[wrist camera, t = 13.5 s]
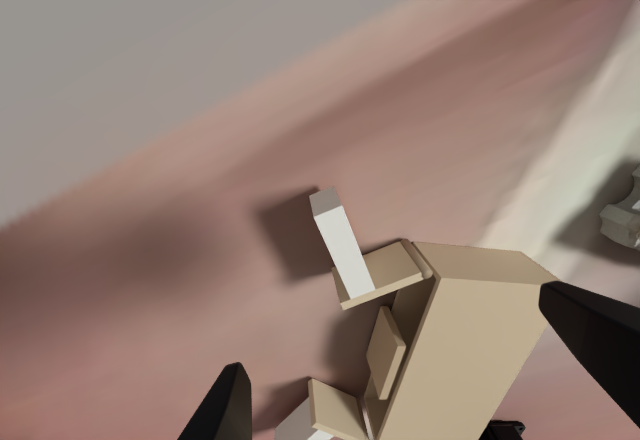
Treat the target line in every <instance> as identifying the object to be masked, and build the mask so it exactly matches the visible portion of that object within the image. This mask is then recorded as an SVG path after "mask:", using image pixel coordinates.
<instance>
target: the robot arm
mask: <svg viewBox="0 0 640 440" xmlns="http://www.w3.org/2000/svg"><path fill="white" fill-rule="evenodd" d="M538 306H539V309H540V311H541V313H542V315H543V316H544V317H545V319H546V320H547V321H548V322H549V324H550V325H551V326H552V328H553V329H554V330H555V332H556V333H557V334H558V336H559V337H560V338H561V340H562V341H563V342H564V343H565V345H566V346H567V347H568V349H569V350H570V351H571V353H572V354H573V355H574V356H575V358H576V359H577V360H578V361H579V362H580V364H581V365H582V366H583V367H584V368H585V369H586V370H587V371H588V373H589V374H590V375H591V376H592V377H593V378H594V379H595V380H596V381H597V382H598V384H599V385H600V386H601V387H602V388H603V389H604V390H605V391H606V392H607V393H608V394H609V396H610V397H611V398H612V399H613V400H614V401H615V402H616V403H617V404H618V405H619V407H620V408H621V409H622V410H623V411H624V412H625V413H626V414H627V415H628V416H629V417H630V419H631V420H632V421H633V422H634V423H635V424H636V425H637V426H638V427H639V428H640V308H638V307H635V306H632V305H629V304H626V303H623V302H621V301H618V300H615V299H612V298H609V297H606V296H603V295H600V294H597V293H594V292H591V291H588V290H585V289H582V288H579V287H576V286H573V285H570V284H567V283H564V282H561V281H557V280H555V281H550V282H546V283H543V284H542V285H541V286H540V293H539V302H538ZM524 430H525V426H524V424H523V423H522V422H504V423H488V424H487V426H486V428H485V429H484V431H483V433H482V434H481V436H480V438H479V439H478V440H523V439H522V437H521V436H520V435H521V434H522V432H523V431H524ZM177 440H252V398H251V382H250V379H249V377H248V375H247V373H246V371H245V369H244V367H243V365H242V364H241V363H240V362H236V363H232V364H228V365H226V366H225V367H224V369H223V370H222V372H221V373H220V375H219V376H218V378H217V380H216V381H215V383H214V384H213V386H212V387H211V389H210V390H209V392H208V393H207V395H206V396H205V398H204V399H203V401H202V402H201V404H200V405H199V407H198V409H197V410H196V412H195V413H194V415H193V416H192V418H191V419H190V421H189V422H188V424H187V425H186V427H185V428H184V430H183V431H182V433H181V435H180V436H179V438H178V439H177Z"/></svg>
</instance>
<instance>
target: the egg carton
mask: <svg viewBox="0 0 640 440" xmlns="http://www.w3.org/2000/svg"><path fill="white" fill-rule="evenodd" d="M632 176H633V177H634V180H635V185H634V188H633V190H632V192H631V193H630V195H629V196H628V197H627V198H626V199H625V200H623V201H621V202H619V203H617V204H608V205H607V206H606V207H605V208H604V209H603V210H602V211H601V212H600V214H599V216H600V217H601V219H602V222H603V223H602V227H601V229H600V232H601V233H602V234H603V235H605V236H607V237H608V238H610V239H611V240H613V241H614V242H617V243H620V244H622V245H624V246H627V247H630V248H633V249H637V250H638V251H639V252H640V165H639V166H638V168H637V169H636V170H635V171H634V172H633V173H632Z"/></svg>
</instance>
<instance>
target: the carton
mask: <svg viewBox="0 0 640 440" xmlns="http://www.w3.org/2000/svg"><path fill="white" fill-rule="evenodd" d="M412 246H413V247H414V248H415V249H416V251H417V252H418V253H419V255H420V256H421V257H422V258H423V260H424V261H425V262H426V264H427V265H428V266H429V268H430V269H431V270H432V272H433V274H432V276H431V277H430V278H428V279H424V278H423V280H421V281H418V282H416V283H413V284H411V285H408V286H405V287H403V288H400V289H398V291H397V294H396V297H395V300H394V303H393V307H392V310H391V312H390V310H389V308H388V306H381V307H380V310H379V313H378V317H377V320H376V323H375V327H374V330H373V333H372V337H371V340H370V343H369V347H368V350H367V353H366V357H367V360H368V364H369V367H370V370H371V375H370V379H369V382H368V385H367V388H366V391H365V394H364V397H363V398H364V402H365V406H366V410H367V414H368V418H369V422H370V426H371V430H372V434H373V438H374V440H478V439H479V438H480V436H481V434H482V433H483V431H484V429H485V428H486V426H487V424H488V423H489V421H490V419H491V418H492V416H493V414H494V413H495V411H496V409H497V408H498V406H499V404H500V403H501V401H502V399H503V398H504V396H505V394H506V393H507V391H508V389H509V388H510V386H511V384H512V383H513V381H514V379H515V378H516V376H517V374H518V373H519V371H520V369H521V368H522V366H523V364H524V363H525V361H526V359H527V358H528V356H529V354H530V353H531V351H532V349H533V348H534V346H535V345H536V343H537V341H538V340H539V338H540V336H541V335H542V333H543V331H544V330H545V328H546V326H547V325H548V323H549V322H548V321H547V320H546V319H545V317H544V316H543V315H542V313H541V311H540V309H539V306H538V302H539V293H540V286H541V285H542V284H543V283H546V282H550V281H555V280H557V281H561V280H560V279H558V278H557V277H556V276H554V275H553V274H551V273H550V272H549V271H547V270H546V269H544V268H543V267H542V266H540V265H539V264H538V263H536V262H535V261H533V260H532V259H531V258H529V257H528V256H527V255H525V254H524V253H522V252H518V251H507V250H496V249H485V248H474V247H463V246H452V245H441V244H430V243H419V242H413V244H412ZM561 282H562V281H561Z"/></svg>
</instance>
